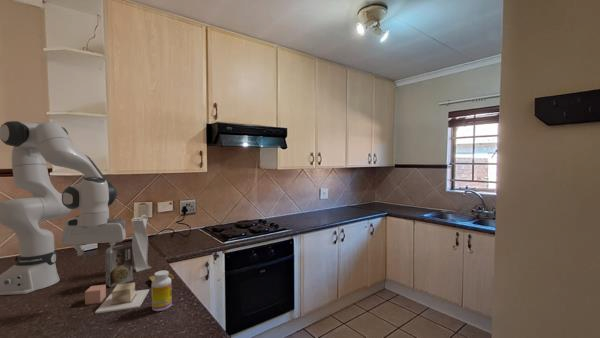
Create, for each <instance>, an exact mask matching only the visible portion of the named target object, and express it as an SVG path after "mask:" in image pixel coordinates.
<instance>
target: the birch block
mask: <svg viewBox="0 0 600 338" xmlns="http://www.w3.org/2000/svg"><path fill="white" fill-rule="evenodd" d="M135 291H136V282H127V283H124V284H118V285H117V286H114V287H113V290H111V294H112V305H113V304H120V303H127V302H131V301H132V299H133V297H134V296H135Z"/></svg>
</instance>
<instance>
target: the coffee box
mask: <svg viewBox="0 0 600 338" xmlns="http://www.w3.org/2000/svg"><path fill="white" fill-rule="evenodd" d="M108 248H110V247H105V248H104V258H105V260H104V261H105V285H106V286H108V287H109V288H115V287H116V286H117V285H118V284H126V283H131V282H133V281H134V269H133V268H134V265H133V263H134V262H133V249H132V245H131V244H129V243H124V244H119V245H114V247H113V248H112V253H111V254H106V249H108Z"/></svg>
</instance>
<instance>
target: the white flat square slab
mask: <svg viewBox="0 0 600 338" xmlns="http://www.w3.org/2000/svg"><path fill="white" fill-rule="evenodd" d="M149 291H150V289H149V288H148V289H147V288H146V289H141V290H140V289H139V290H135V296H134V297H133V299H132V301H131V302H127V303H120V304H113V305H112V293H110V294H109V295H108V297H106V299H105V300H103V301H102V302H101V304H100V306H99V307H98V308H97V309H96V310H95V312H94V314H97V315H98V314H103V313H104V314H105V313H110V312H116V311H117V312H118V311H123V310H124V311H125V310H132V309H138V308H140V307H141V305H142V303H143V302H144V301H145V300H146V299H145V298H146V297H147V295H148V294H149Z"/></svg>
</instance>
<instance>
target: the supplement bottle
mask: <svg viewBox="0 0 600 338" xmlns="http://www.w3.org/2000/svg"><path fill="white" fill-rule="evenodd" d="M169 273H170V272H169V270H165V269H164V270H163V269H162V270H159V271H155V272H154V275H153V276H154V277H155V280H154V281H153V282H152V281H151V309H152V311H155V312H161V311H165V310H168V309H170V308H171V306H172V304H173V303H172V302H173V300H172V298H173V293H172V292H173V289H172V287H173V286H172V281H171V279H170V278H169V277H168V275H169Z"/></svg>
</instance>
